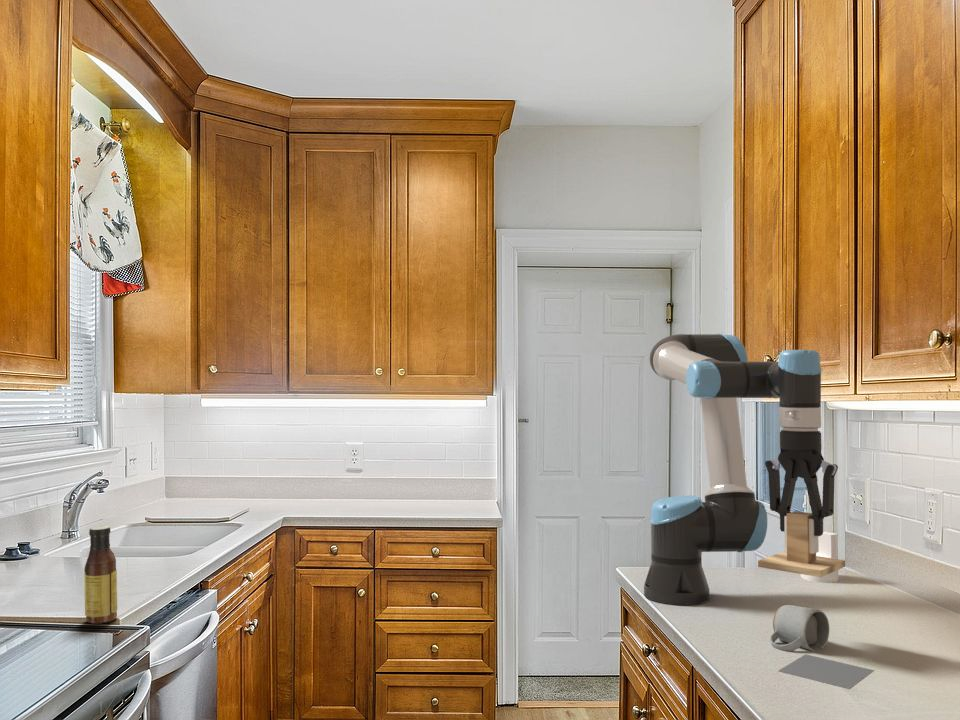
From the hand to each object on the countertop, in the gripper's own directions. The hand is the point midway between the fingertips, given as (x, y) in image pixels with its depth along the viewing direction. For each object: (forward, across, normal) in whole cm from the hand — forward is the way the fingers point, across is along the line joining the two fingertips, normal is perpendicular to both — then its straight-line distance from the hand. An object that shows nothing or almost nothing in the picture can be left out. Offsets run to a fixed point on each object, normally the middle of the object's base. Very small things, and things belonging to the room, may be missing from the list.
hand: (801, 550), depth 156 cm
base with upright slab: (+19, -19, +57) cm, 63 cm away
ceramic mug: (+19, 0, -2) cm, 19 cm away
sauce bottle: (+19, -114, -87) cm, 145 cm away
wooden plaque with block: (+3, 0, 0) cm, 3 cm away
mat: (+18, +9, -12) cm, 24 cm away
